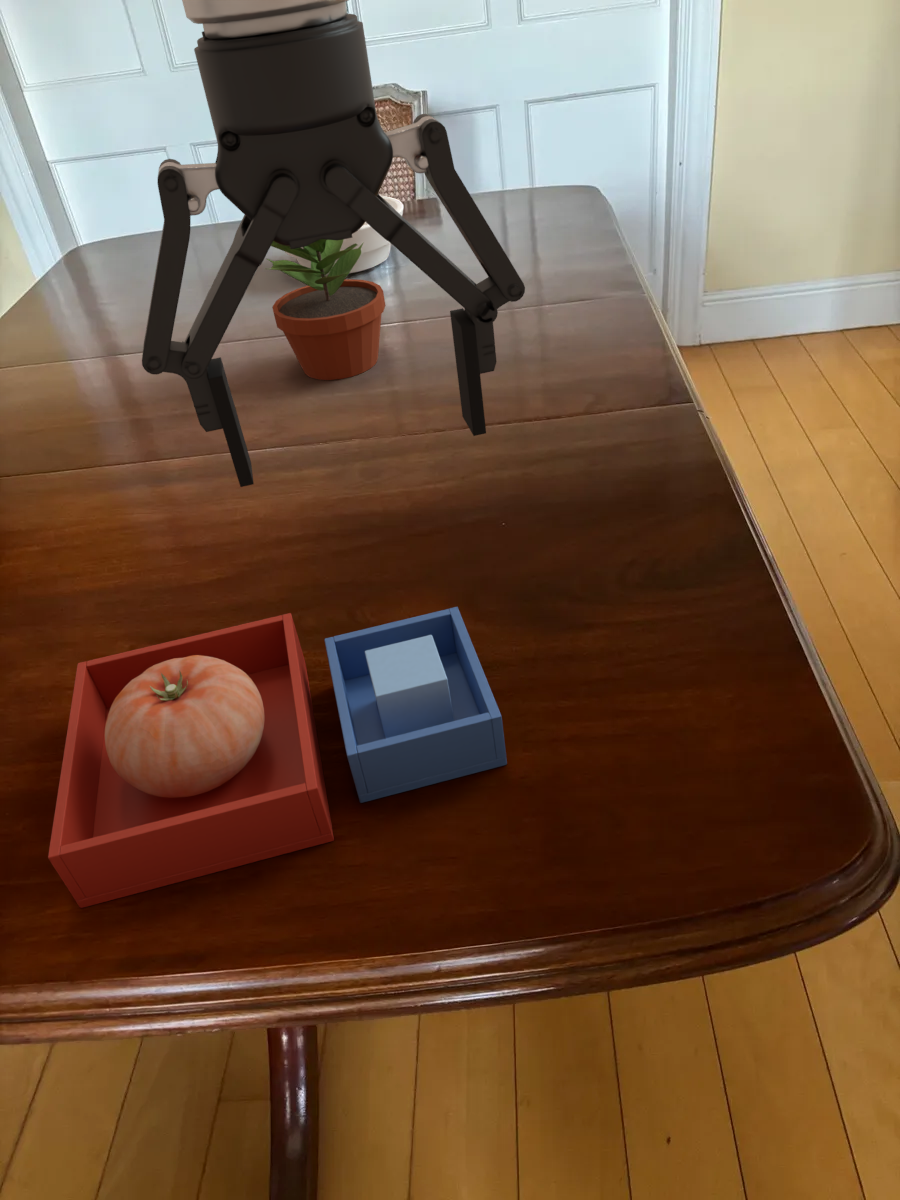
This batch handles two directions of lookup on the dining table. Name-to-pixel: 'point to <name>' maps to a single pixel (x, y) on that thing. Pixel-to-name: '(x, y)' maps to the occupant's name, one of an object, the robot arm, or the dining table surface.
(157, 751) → the tomato
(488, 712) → the blue bin
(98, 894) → the red bin
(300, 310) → the potted plant
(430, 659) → the blue block
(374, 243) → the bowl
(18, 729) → the dining table surface
